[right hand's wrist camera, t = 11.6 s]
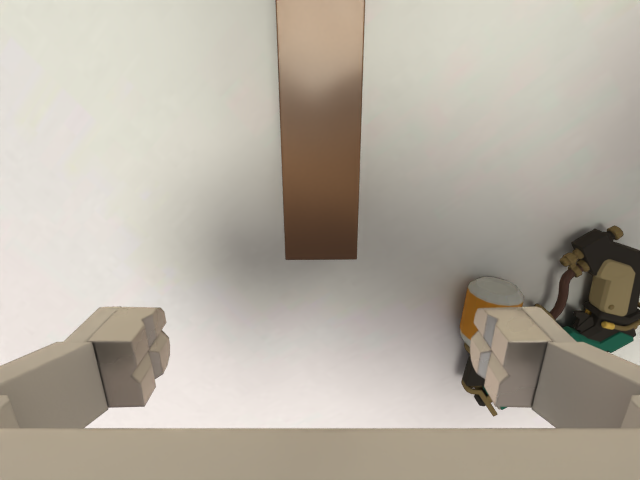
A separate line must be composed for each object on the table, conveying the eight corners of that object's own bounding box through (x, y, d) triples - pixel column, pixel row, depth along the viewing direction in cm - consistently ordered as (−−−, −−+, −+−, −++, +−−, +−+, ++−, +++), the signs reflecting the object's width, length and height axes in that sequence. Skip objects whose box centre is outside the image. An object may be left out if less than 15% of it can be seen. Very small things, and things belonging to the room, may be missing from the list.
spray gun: (624, 208, 32) (627, 349, 37) (429, 271, 33) (461, 400, 38) (672, 225, 28) (668, 380, 34) (449, 296, 29) (481, 436, 34)
